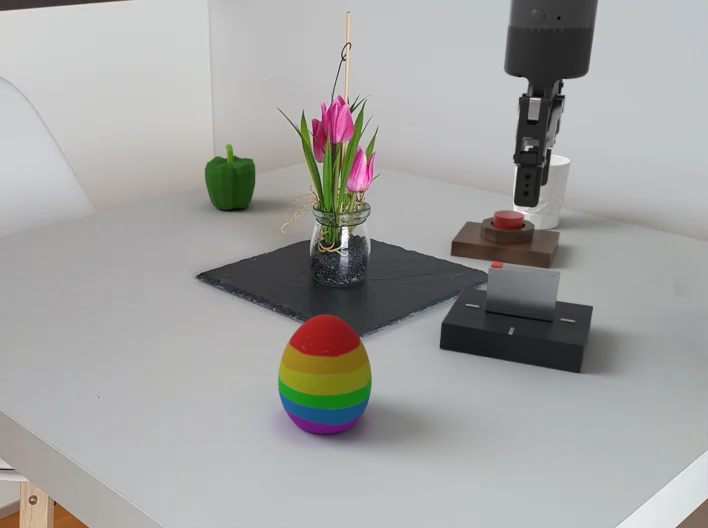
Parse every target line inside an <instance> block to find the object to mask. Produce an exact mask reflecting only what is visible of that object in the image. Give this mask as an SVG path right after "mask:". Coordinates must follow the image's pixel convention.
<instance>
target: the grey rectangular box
mask: <svg viewBox="0 0 708 528" xmlns="http://www.w3.org/2000/svg"><path fill="white" fill-rule="evenodd" d="M560 278H561V271H559V270H558V271H557V270H550V269H543V268H536V267H528V266H521V265H513V264H506V263H503V262H497V261H492V262H491V263H490V265H489V267H488V273H487V281H486V300H485V311H489V312H495V313H502V314H508V315H515V316H521V317H527V318H534V319H540V320H547V321H553V319H554V316H555V309H556V302H557V301H558V294H559V286H560Z"/></svg>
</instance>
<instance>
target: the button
mask: <svg viewBox="0 0 708 528" xmlns="http://www.w3.org/2000/svg"><path fill="white" fill-rule="evenodd" d="M493 217H494V218H493V226H496V227H499V228H505V229H520V228H523V222H524V214H522V213H520V212H516V211H513V210H508V209H507V210H506V209H505V210H502V209H501V210H497V211H494V213H493Z"/></svg>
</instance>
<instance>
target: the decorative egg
mask: <svg viewBox="0 0 708 528" xmlns="http://www.w3.org/2000/svg"><path fill="white" fill-rule="evenodd" d="M278 367H279V368H278V372H277V373H278V377H277V385H278V386H277V387H278V394H279V398H280V401H281V405H282V407H283V409H284V411H285V413H286V414H287V416H288V417H289V419H290V420H291V421H292V423H293V424H294V425H296V426H297V427H299V428H300V429H302V430H303V431H305V432H309V433H311V434H317V435H333V434H339V433H342V432H345V431H348V430H349V429H350V428H352V427H353V426H354V425H355V424H356V423H357V422H358V421H359V419H360V418H361V417H362V416H363V414H364V412H365V410H366V409H367V406H368V404H369V401H370V398H371V394H372V393H371V392H372V384H373V383H372V382H373V381H372V380H373V379H372V377H373V375H372V368H371V362H370V359H369V355H368V352H367V350H366V347H365V345H364V343H363V341H362V340H361V338H360V336H359V335H358V334H357V332H356V331H355V329H354V328H352V326H351V325H350V324H348V323H347V322H346V321H345V320H343V319H342V318H340V317H339V316H335V315H333V314H325V313H324V314H319V315H314V316H313V317H311V318H309V319H307V320H306V321H304V323H302V324H301V325H300V326H299V327H298V328H297V329H296V331H295V332H294V333H293V334H292V336H291V337H290V339H289V340H288V342H287V344H286V345H285V348H284V350H283V352H282V356H281V358H280V362H279V366H278Z"/></svg>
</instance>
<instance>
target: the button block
mask: <svg viewBox="0 0 708 528" xmlns="http://www.w3.org/2000/svg"><path fill="white" fill-rule="evenodd" d="M493 218H494V216H492V217H488V218H484V219H483V220H482V222H477V221H469V220H467V221H466V222H465V223H464V225H463V226H462V227H461V228H460V229H459V230H458V232H457V234H456V235H455V236H454V238H453V239H452V240H451V245H450V256H451V257H457V258H465V259H472V260H480V261H487V262H493V261H497V262H503V264H508V265H516V266H523V267H531V268H539V269H546V270H550V267H551V265H552V263H553V261H554V257H555V255H556V253H557V251H558V248H559V242H560V235H561V232H560V231H554V230H548V229H545V230H538V229H534V228H535V225H534V224H533V223H531V222H530V221H527V220H524V222H523V228H520V229H505V228H499V227H496V226H493Z"/></svg>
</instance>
